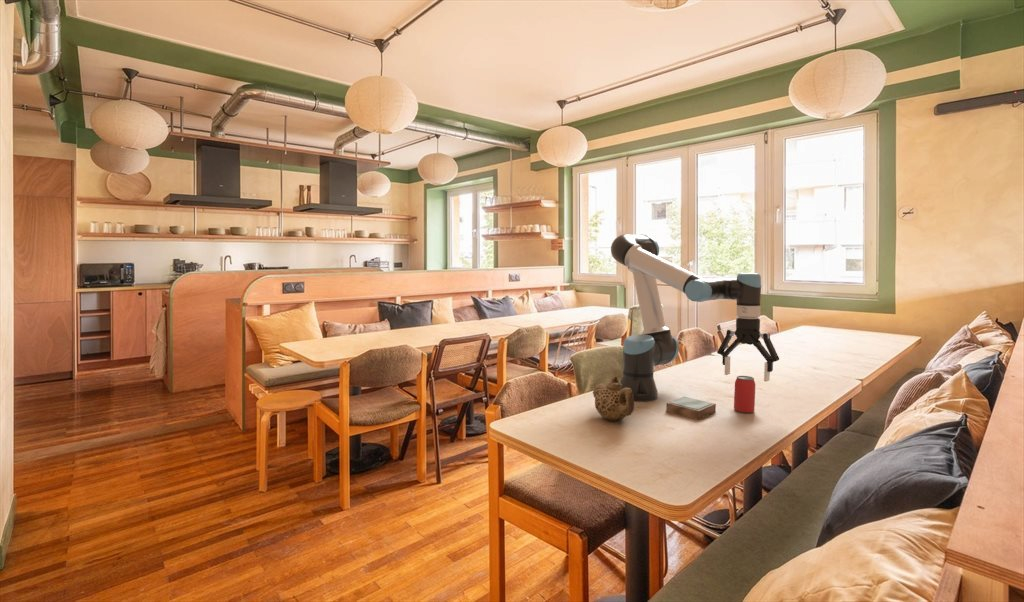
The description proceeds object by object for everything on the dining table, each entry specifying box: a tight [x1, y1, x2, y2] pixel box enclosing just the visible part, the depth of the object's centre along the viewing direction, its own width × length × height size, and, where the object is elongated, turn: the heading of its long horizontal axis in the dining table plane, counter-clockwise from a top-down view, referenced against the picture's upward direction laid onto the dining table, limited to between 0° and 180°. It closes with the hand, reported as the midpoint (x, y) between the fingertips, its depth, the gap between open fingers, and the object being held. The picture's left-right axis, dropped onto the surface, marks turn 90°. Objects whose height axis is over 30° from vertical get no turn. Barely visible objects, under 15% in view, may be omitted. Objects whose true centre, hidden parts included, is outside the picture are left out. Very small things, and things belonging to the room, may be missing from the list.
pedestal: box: [666, 396, 717, 421], centre depth 173 cm, size 12×12×3 cm
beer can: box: [733, 375, 756, 414], centre depth 174 cm, size 7×7×12 cm
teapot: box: [592, 375, 635, 422], centre depth 164 cm, size 21×12×15 cm, turn 23°
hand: (746, 377), depth 173 cm, fingers open, 13 cm apart
